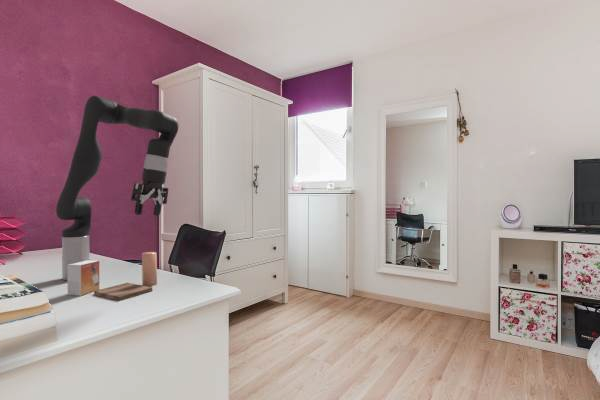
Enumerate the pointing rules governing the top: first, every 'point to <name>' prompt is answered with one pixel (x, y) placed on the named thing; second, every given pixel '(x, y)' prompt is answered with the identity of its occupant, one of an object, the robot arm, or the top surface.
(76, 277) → the small box
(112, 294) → the walnut board
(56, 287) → the top surface
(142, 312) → the top surface
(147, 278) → the terracotta canister
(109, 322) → the top surface
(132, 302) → the top surface
